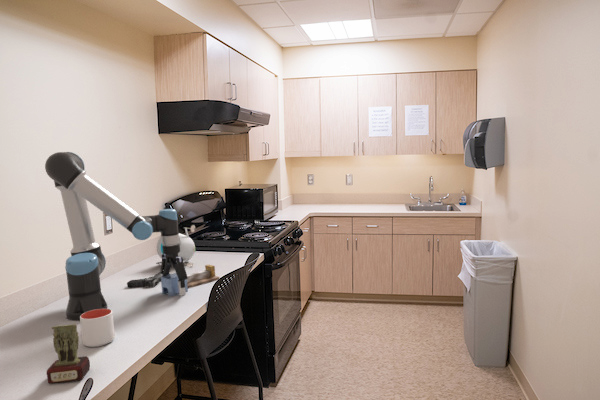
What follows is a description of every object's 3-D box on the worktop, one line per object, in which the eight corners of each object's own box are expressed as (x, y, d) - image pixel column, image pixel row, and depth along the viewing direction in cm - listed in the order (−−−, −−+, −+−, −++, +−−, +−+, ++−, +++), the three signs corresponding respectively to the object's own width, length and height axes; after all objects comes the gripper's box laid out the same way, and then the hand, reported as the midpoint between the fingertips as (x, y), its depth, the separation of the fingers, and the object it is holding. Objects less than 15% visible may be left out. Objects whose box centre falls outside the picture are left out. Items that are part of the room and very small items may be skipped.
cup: (78, 343, 158) (75, 314, 157) (107, 333, 165) (105, 306, 164) (89, 351, 151) (86, 321, 150) (120, 341, 158) (117, 312, 157)
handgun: (143, 271, 240) (169, 269, 239) (143, 277, 240) (170, 276, 239) (126, 282, 220) (155, 280, 219) (126, 289, 221) (155, 287, 219)
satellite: (207, 229, 269) (171, 232, 278) (186, 222, 252) (149, 225, 261) (203, 269, 263) (167, 270, 272) (182, 264, 245) (144, 265, 255)
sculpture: (46, 386, 130) (39, 334, 128) (56, 372, 138) (50, 323, 136) (83, 381, 131) (77, 330, 130) (91, 368, 139) (86, 319, 137)
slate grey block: (169, 296, 204) (168, 279, 203) (162, 294, 208) (160, 276, 207) (187, 291, 210) (186, 274, 209) (180, 289, 214) (178, 272, 213)
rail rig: (183, 289, 213) (182, 276, 213) (169, 285, 222) (168, 272, 221) (219, 279, 227) (218, 266, 227) (205, 275, 236) (204, 263, 235)
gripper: (193, 245, 201) (197, 294, 203) (164, 239, 217) (168, 285, 220) (177, 249, 195) (182, 299, 198) (149, 242, 212) (154, 289, 215)
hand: (175, 292), depth 209 cm, fingers open, 11 cm apart
